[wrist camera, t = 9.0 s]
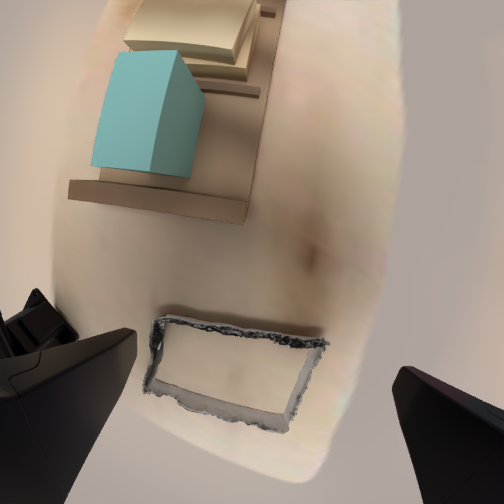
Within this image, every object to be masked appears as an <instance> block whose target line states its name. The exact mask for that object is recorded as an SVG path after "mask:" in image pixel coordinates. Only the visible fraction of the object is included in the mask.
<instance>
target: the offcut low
mask: <svg viewBox="0 0 504 504" xmlns="http://www.w3.org/2000/svg"><path fill="white" fill-rule="evenodd" d="M259 25H260V4H256V12H255V15H254V17H253V19H252V22H251V24H250V27H249V29H248V32H247V34H246V37H245V40H244V42H243V45H242V47H241V50H240V53H239V55H238V58H237V61H236V64H235V65H230V64H224V63H219V62H213V61H206V60H200V59H192V58H184V57H182V59H183V60H184V62H185V64H186V65H187V67H188V69H189V71H190V72H191V74H192V76H193V77H201V78H214V79H225V80H234V81H242V82H247V79H248V75H249V70H250V65H251V60H252V56H253V51H254V47H255V42H256V38H257V33H258V29H259ZM129 52H134V51H133V50H132V49H131V48H130V51H129Z"/></svg>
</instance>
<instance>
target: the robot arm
mask: <svg viewBox="0 0 504 504" xmlns="http://www.w3.org/2000/svg"><path fill="white" fill-rule="evenodd" d="M1 315H2V314H1V311H0V504H64V502H65V500H66V498H67V496H68V494H67V493H69V492H70V490H71V488H72V486H73V483H74V481H75V479H76V477H77V476H78V474H79V472H80V470H81V468H82V466H83V464H84V462H85V460H86V458H87V456H88V454H89V452H90V451H91V449H92V447H93V445H94V443H95V441H96V439H97V437H98V436H99V434H100V432H101V430H102V428H103V426H104V425H105V423H106V421H107V419H108V417H109V415H110V414H111V412H112V410H113V408H114V406H115V405H116V403H117V401H118V399H119V397H120V396H121V394H122V391H123V389H124V387H125V384H126V382H127V379H128V377H129V374H130V372H131V369H132V367H133V365H134V362H135V360H136V357H137V333H136V331H135V330H133V329H129V328H121V329H118V330H114V331H111V332H107V333H104V334H100V335H97V336H94V337H90V338H86V339H83V340H79V341H77V340H78V335H77V333H76V332H75V331H74V330H73V329H72V328H71V327H70V326H69V325H68V324H67V322H66V321H65V320H64V319H63V318H62V317H61V316H60V315H59V313H58V312H57V311H56V310H55V309H54V308H53V306H52V305H51V304H50V303H49V302H48V300H47V299H46V298H45V297H44V295H43V294H42V293H41V292H40V291H39V289H37V288H35V289H33V290H32V292H31V294H30V296H29V298H28V300H27V302H26V304H25V307H24V309H23V311H21V312H19V313H18V314H16V315H14V316H13V317H11V318H10V319H8V320H6V321H5V322H4V320H3V318H2V316H1ZM73 337H74V338H73ZM392 393H393V397H394V401H395V406H396V410H397V414H398V419H399V423H400V426H401V430H402V433H403V435H404V439H405V442H406V445H407V448H408V451H409V454H410V458H411V461H412V464H413V467H414V470H415V474H416V478H417V481H418V485H419V489H420V492H421V496H422V500H423V504H504V410H502V409H500V408H497V407H495V406H493V405H491V404H489V403H486V402H483V401H482V400H480V399H478V398H476V397H474V396H472V395H470V394H468V393H466V392H463V391H461V390H459V389H457V388H455V387H453V386H451V385H449V384H447V383H445V382H443V381H441V380H439V379H437V378H435V377H433V376H431V375H429V374H427V373H425V372H423V371H420V370H419V369H417V368H415V367H413V366H403V367H401V369H400V370H399V372H398V374H397V377H396V379H395V381H394V383H393V385H392Z"/></svg>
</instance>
